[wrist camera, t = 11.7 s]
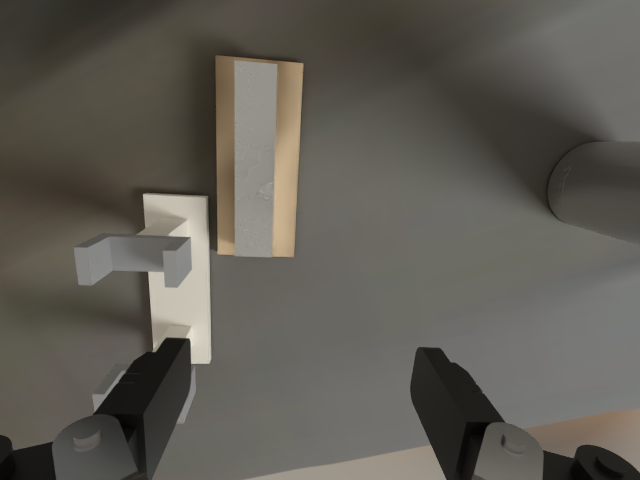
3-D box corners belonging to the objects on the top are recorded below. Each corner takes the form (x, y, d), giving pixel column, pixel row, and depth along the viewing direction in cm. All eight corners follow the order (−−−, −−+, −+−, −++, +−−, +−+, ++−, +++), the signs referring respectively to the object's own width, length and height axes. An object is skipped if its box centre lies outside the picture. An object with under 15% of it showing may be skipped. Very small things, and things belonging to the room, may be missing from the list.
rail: (278, 72, 32) (277, 64, 29) (273, 246, 37) (271, 257, 34) (240, 69, 32) (234, 60, 29) (239, 245, 37) (234, 256, 33)
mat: (303, 64, 33) (303, 63, 32) (293, 255, 38) (293, 257, 37) (216, 56, 32) (215, 55, 32) (218, 252, 37) (217, 254, 37)
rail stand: (212, 196, 36) (174, 222, 24) (214, 358, 41) (184, 444, 29) (142, 192, 35) (70, 217, 23) (154, 357, 40) (98, 444, 28)
